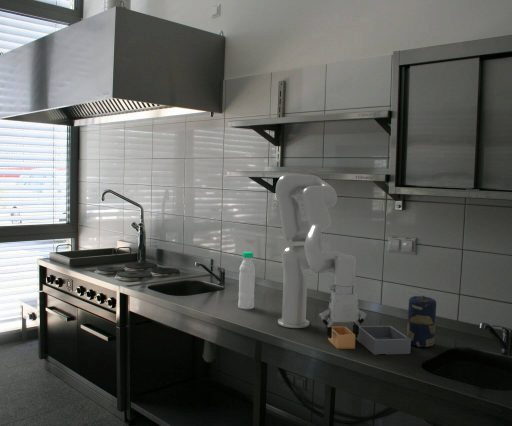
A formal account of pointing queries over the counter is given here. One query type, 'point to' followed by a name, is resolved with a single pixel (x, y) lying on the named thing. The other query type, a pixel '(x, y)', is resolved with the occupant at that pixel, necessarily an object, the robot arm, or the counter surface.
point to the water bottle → (246, 282)
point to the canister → (421, 321)
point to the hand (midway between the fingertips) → (342, 336)
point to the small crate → (342, 338)
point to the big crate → (384, 340)
